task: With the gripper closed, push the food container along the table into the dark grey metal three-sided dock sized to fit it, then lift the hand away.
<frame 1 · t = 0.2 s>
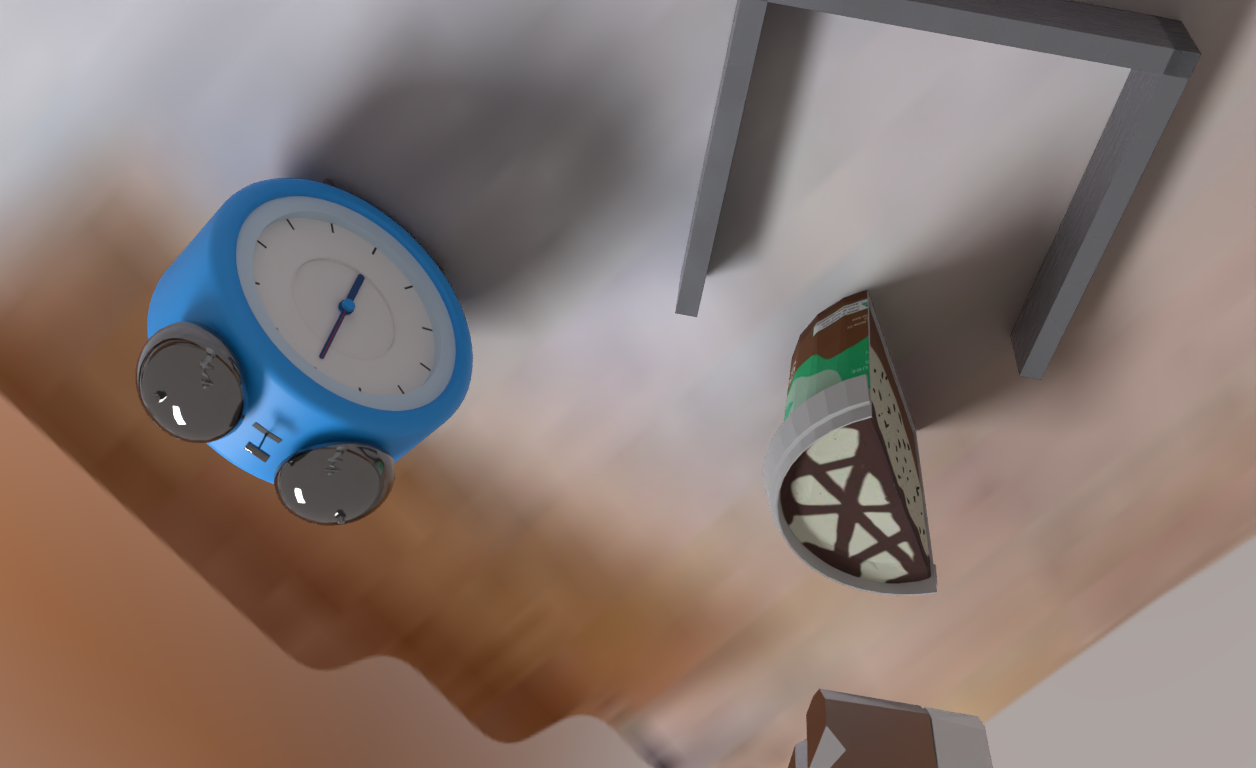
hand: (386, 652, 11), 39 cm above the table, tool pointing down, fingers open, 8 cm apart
metal dock: (905, 161, 50), on the table
alarm clock: (362, 249, 57), on the table
food container: (832, 375, 59), on the table
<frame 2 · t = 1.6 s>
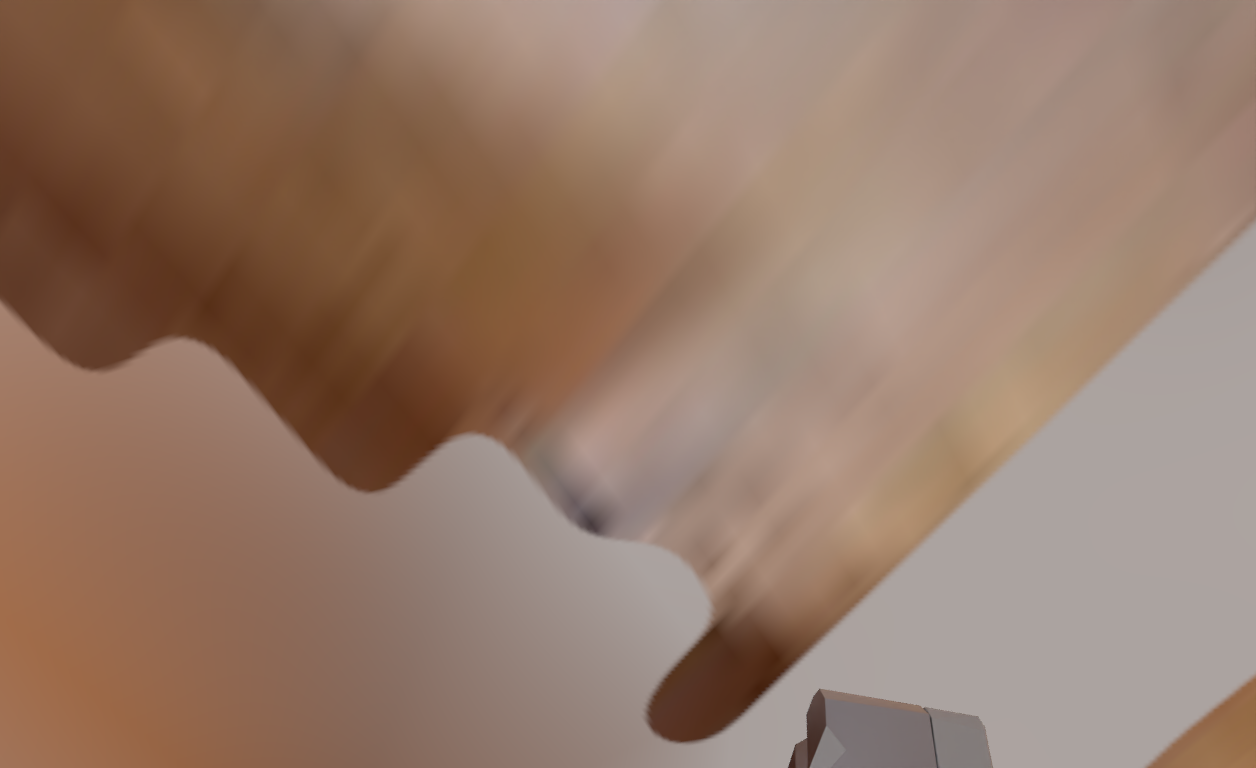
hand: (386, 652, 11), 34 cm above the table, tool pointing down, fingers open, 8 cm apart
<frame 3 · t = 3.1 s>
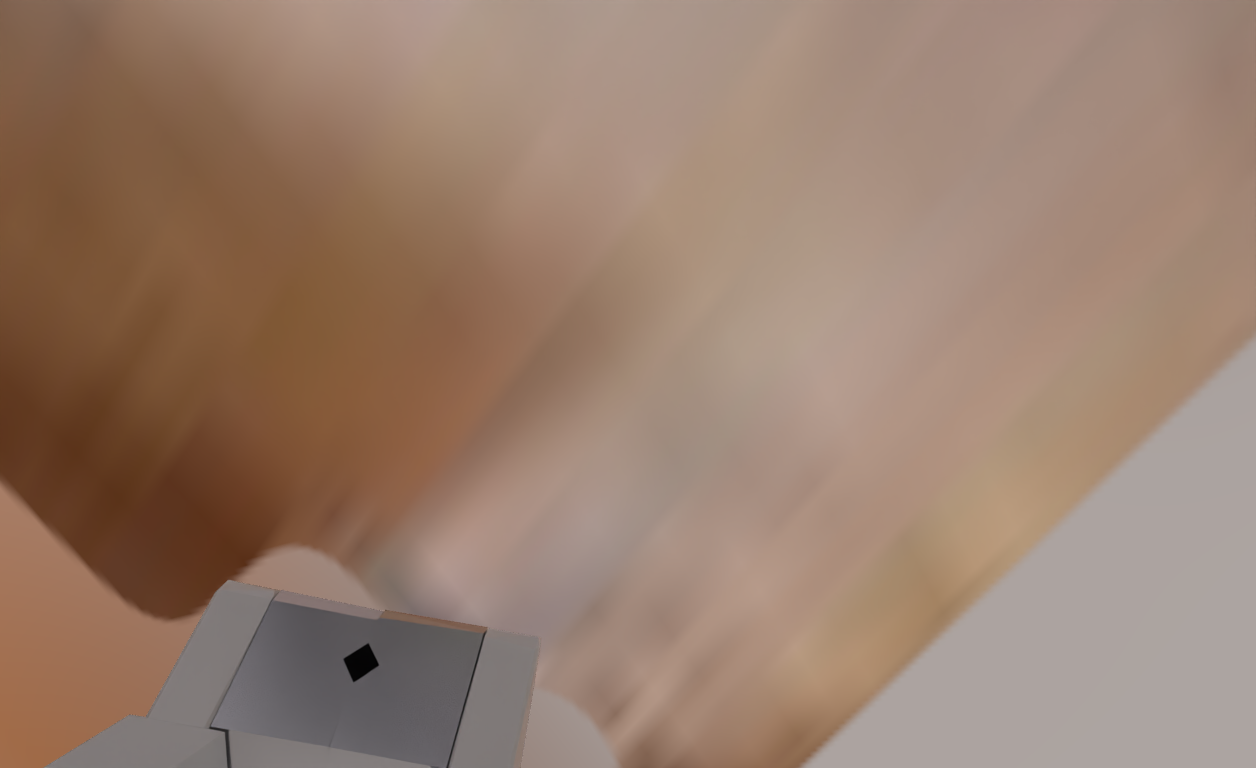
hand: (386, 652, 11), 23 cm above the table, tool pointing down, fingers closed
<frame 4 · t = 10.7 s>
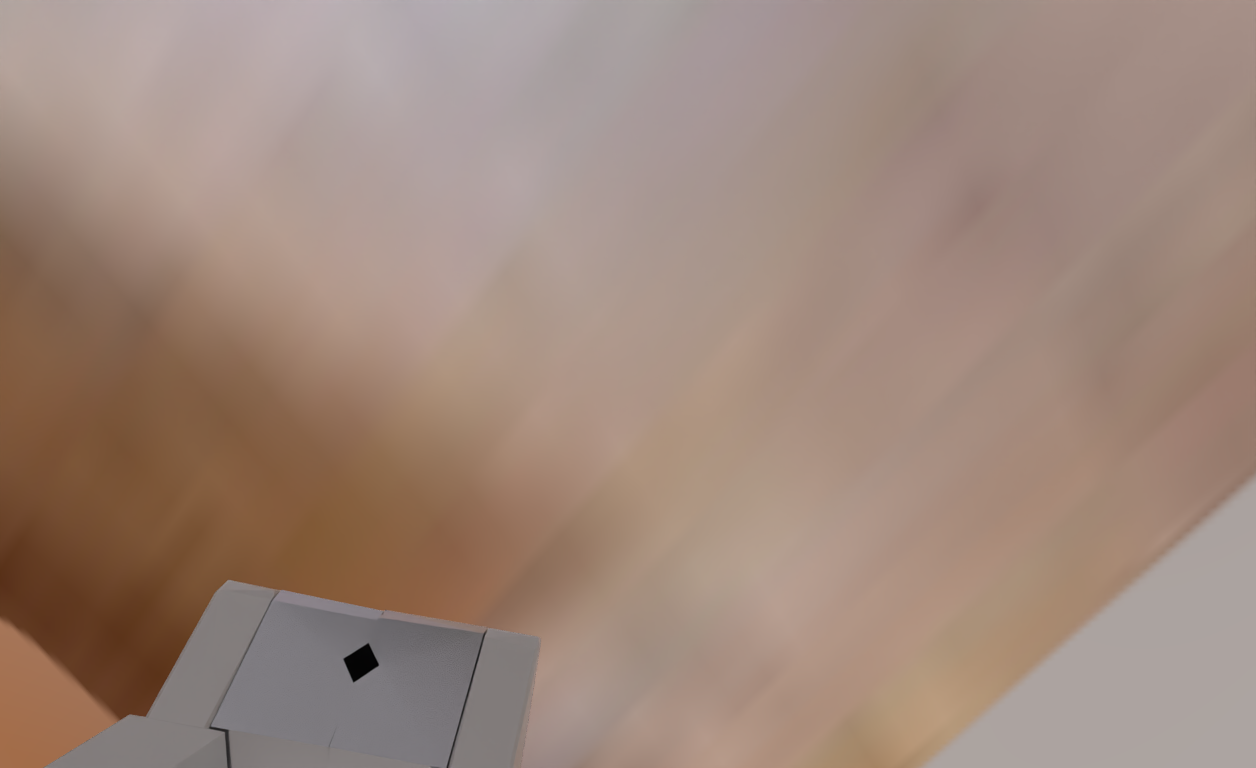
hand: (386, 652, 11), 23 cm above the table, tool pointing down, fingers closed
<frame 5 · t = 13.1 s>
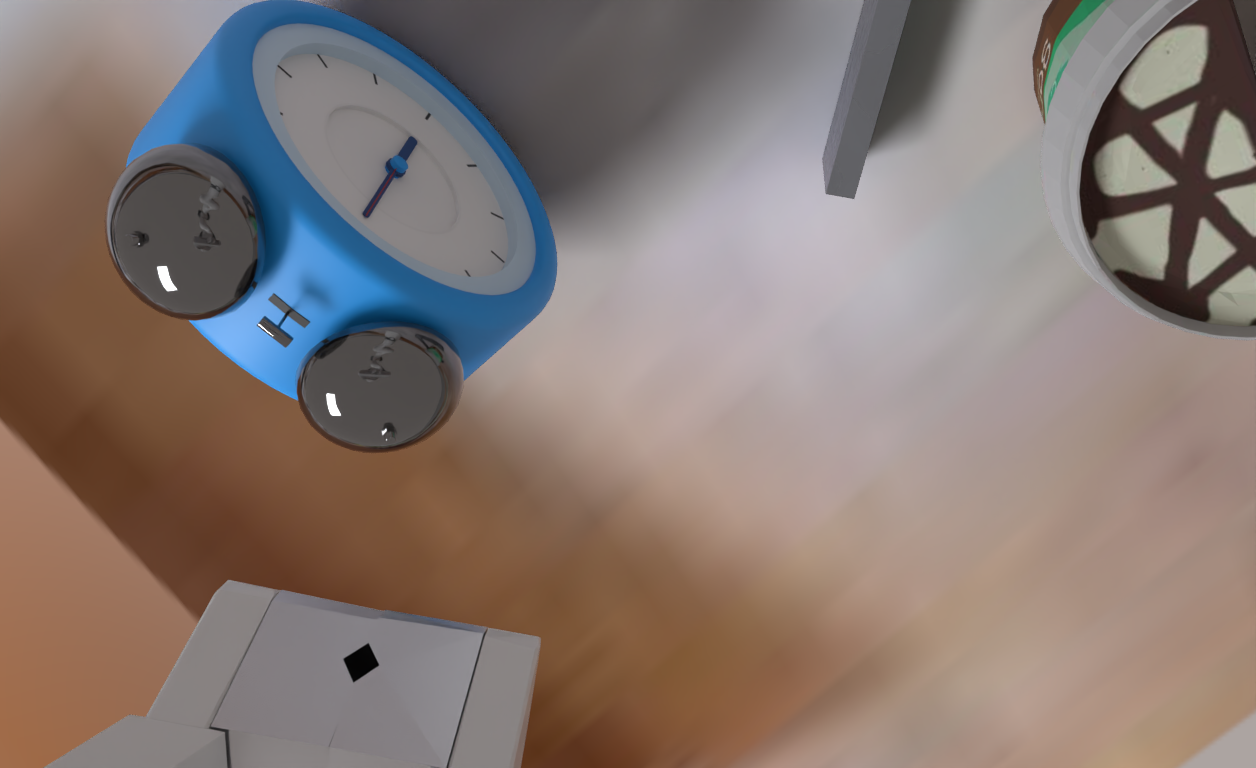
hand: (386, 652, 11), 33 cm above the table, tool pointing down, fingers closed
alarm clock: (407, 132, 44), on the table
food container: (1092, 81, 40), on the table
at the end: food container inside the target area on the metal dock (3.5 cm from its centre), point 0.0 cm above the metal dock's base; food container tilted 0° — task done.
